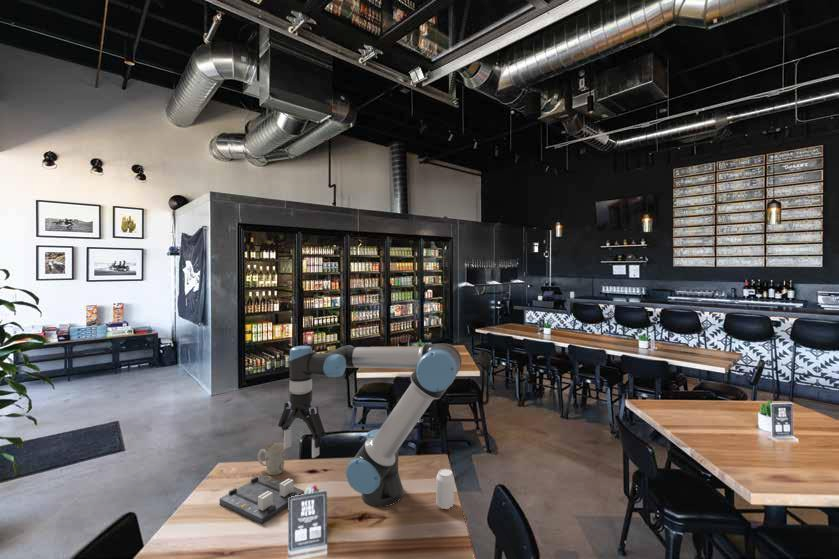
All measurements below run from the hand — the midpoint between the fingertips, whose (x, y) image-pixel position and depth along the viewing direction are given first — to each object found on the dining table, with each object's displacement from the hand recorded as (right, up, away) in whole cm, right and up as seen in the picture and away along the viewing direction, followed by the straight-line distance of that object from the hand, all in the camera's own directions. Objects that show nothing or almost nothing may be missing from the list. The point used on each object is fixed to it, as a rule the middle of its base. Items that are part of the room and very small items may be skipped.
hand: (301, 451), depth 131 cm
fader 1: (-11, -16, -5) cm, 20 cm away
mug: (-20, -18, +23) cm, 35 cm away
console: (-15, -18, +3) cm, 24 cm away
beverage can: (+50, -19, 0) cm, 54 cm away
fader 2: (-6, -16, +3) cm, 18 cm away
